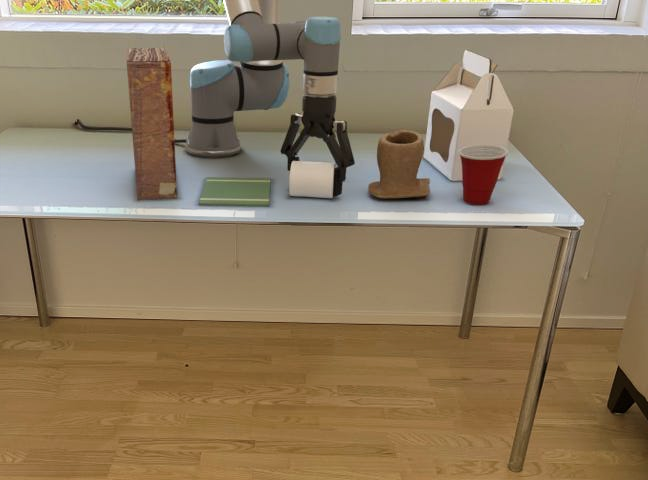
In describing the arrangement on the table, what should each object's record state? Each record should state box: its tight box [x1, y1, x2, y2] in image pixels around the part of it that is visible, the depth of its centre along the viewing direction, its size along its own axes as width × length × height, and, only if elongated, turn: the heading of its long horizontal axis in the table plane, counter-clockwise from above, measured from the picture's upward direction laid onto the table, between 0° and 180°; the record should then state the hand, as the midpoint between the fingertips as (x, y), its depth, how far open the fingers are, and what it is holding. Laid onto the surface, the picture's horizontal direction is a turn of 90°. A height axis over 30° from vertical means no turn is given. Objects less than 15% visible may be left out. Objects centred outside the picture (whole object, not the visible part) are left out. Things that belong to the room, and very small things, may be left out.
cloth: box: [198, 176, 272, 207], centre depth 173 cm, size 16×20×1 cm
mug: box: [288, 160, 337, 199], centre depth 171 cm, size 12×10×8 cm
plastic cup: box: [458, 145, 509, 206], centre depth 165 cm, size 11×11×12 cm
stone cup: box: [367, 129, 431, 199], centre depth 167 cm, size 15×12×15 cm
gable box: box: [423, 49, 515, 182], centre depth 184 cm, size 22×13×28 cm, turn 7°
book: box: [126, 44, 178, 201], centre depth 171 cm, size 25×9×30 cm, turn 9°
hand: (315, 190), depth 172 cm, fingers closed on mug, 12 cm apart
